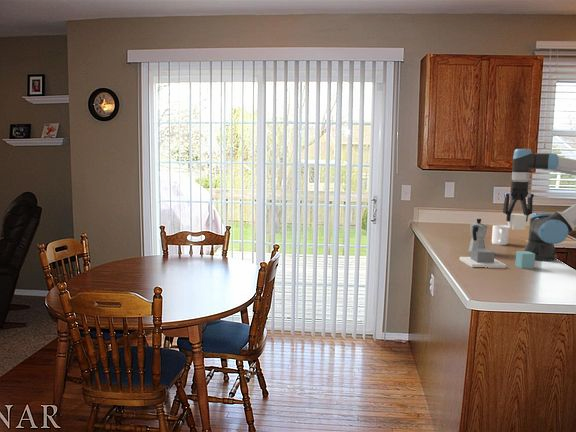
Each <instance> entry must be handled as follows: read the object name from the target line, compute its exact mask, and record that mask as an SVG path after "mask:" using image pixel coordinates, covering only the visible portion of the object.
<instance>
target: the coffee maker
mask: <svg viewBox="0 0 576 432" xmlns="http://www.w3.org/2000/svg"><path fill="white" fill-rule="evenodd" d="M469 226H470V227H469V228H470V237H471V239H470V242H469V248H468V252H469V253H471V249H486V246H485V245H486V242H485V239H486V234H487V228H488V226H487V224H484V223H482V218H476V223H471V224H470V225H469Z"/></svg>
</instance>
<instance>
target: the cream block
mask: <svg viewBox="0 0 576 432" xmlns="http://www.w3.org/2000/svg"><path fill="white" fill-rule="evenodd" d="M511 215H513V216H512V229H511V230H513V231H517V230H518V231H519V230H520V231H525V230H526V226H527V222H526V215H524V213H523V214H522V213H511ZM506 226H507V227H508V225H506Z"/></svg>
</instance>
